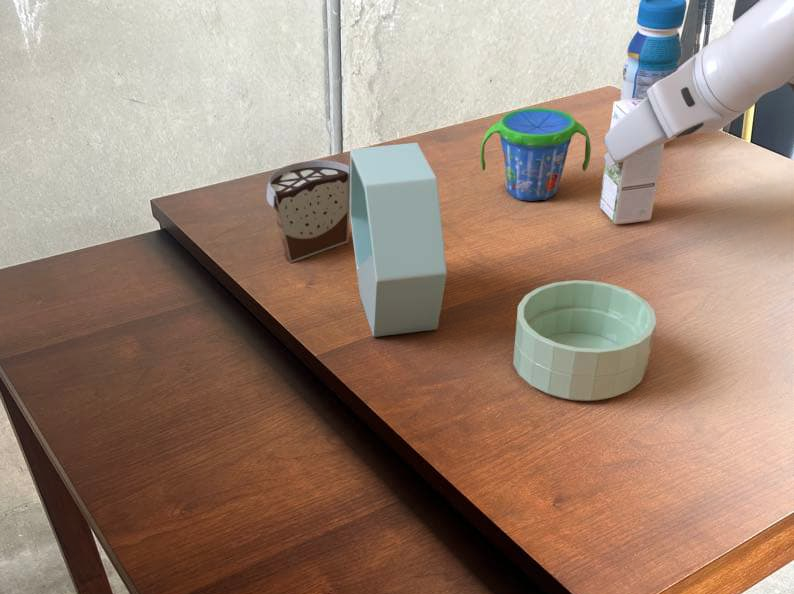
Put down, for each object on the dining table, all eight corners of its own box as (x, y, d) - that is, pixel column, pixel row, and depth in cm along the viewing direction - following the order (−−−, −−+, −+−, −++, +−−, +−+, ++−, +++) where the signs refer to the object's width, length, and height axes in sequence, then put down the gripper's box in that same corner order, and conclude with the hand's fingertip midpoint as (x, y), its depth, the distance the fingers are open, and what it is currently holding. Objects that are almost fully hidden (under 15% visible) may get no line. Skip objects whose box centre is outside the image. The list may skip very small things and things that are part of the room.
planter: (365, 339, 109) (342, 166, 105) (425, 332, 110) (405, 160, 106) (382, 334, 93) (357, 128, 88) (453, 325, 94) (431, 121, 89)
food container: (332, 223, 122) (327, 151, 115) (357, 239, 119) (353, 165, 112) (257, 249, 117) (246, 175, 110) (280, 266, 114) (271, 191, 107)
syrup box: (652, 220, 120) (674, 109, 109) (612, 225, 119) (630, 114, 109) (635, 203, 124) (654, 95, 113) (596, 208, 123) (612, 99, 113)
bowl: (640, 334, 100) (650, 283, 96) (649, 408, 90) (661, 355, 86) (515, 328, 102) (519, 277, 97) (510, 400, 92) (515, 347, 87)
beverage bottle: (645, 155, 136) (671, 11, 122) (602, 141, 141) (622, 0, 127) (676, 140, 140) (705, -1, 126) (633, 127, 145) (656, -11, 131)
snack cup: (474, 204, 126) (477, 131, 118) (483, 174, 133) (487, 104, 126) (583, 211, 123) (593, 137, 116) (586, 181, 130) (596, 109, 123)
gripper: (748, 47, 108) (668, 110, 120) (645, 86, 98) (569, 150, 111) (770, 94, 108) (687, 152, 121) (670, 137, 99) (591, 195, 111)
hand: (630, 151), depth 116 cm, fingers closed on syrup box, 7 cm apart
